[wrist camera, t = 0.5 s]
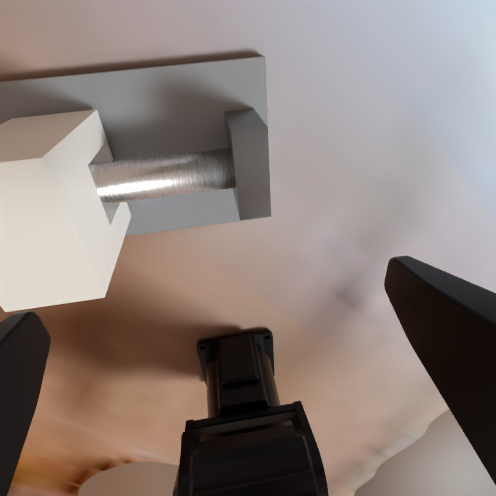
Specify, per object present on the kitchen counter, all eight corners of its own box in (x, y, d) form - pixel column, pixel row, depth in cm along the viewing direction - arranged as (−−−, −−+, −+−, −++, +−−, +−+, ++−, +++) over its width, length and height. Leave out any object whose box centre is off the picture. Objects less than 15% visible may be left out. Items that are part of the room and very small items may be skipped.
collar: (96, 109, 16) (41, 157, 10) (131, 216, 19) (104, 297, 14) (12, 118, 16) (-95, 173, 10) (62, 224, 19) (5, 312, 13)
